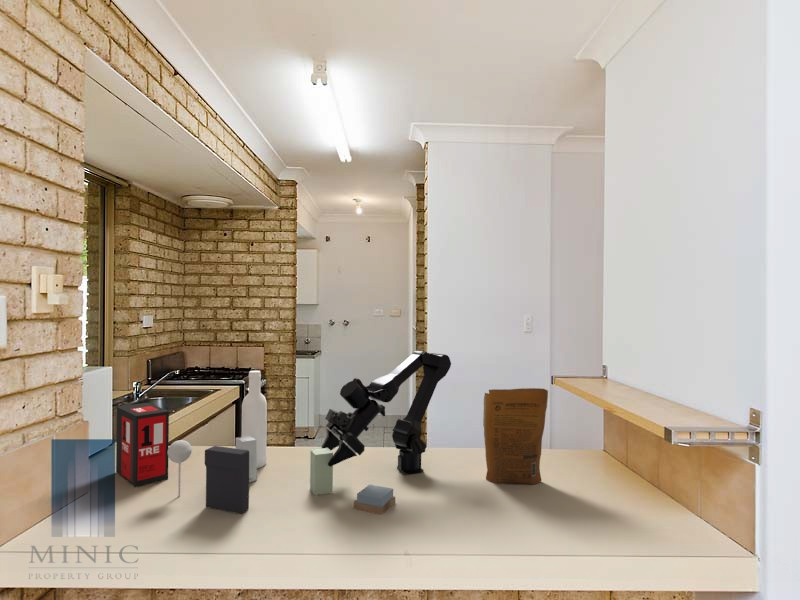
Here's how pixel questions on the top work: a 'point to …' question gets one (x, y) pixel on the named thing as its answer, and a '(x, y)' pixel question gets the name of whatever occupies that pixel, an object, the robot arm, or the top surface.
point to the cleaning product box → (142, 443)
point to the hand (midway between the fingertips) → (323, 460)
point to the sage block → (321, 471)
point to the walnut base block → (374, 508)
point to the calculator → (227, 479)
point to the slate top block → (375, 495)
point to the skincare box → (249, 445)
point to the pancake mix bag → (514, 434)
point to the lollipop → (179, 454)
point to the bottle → (255, 417)
